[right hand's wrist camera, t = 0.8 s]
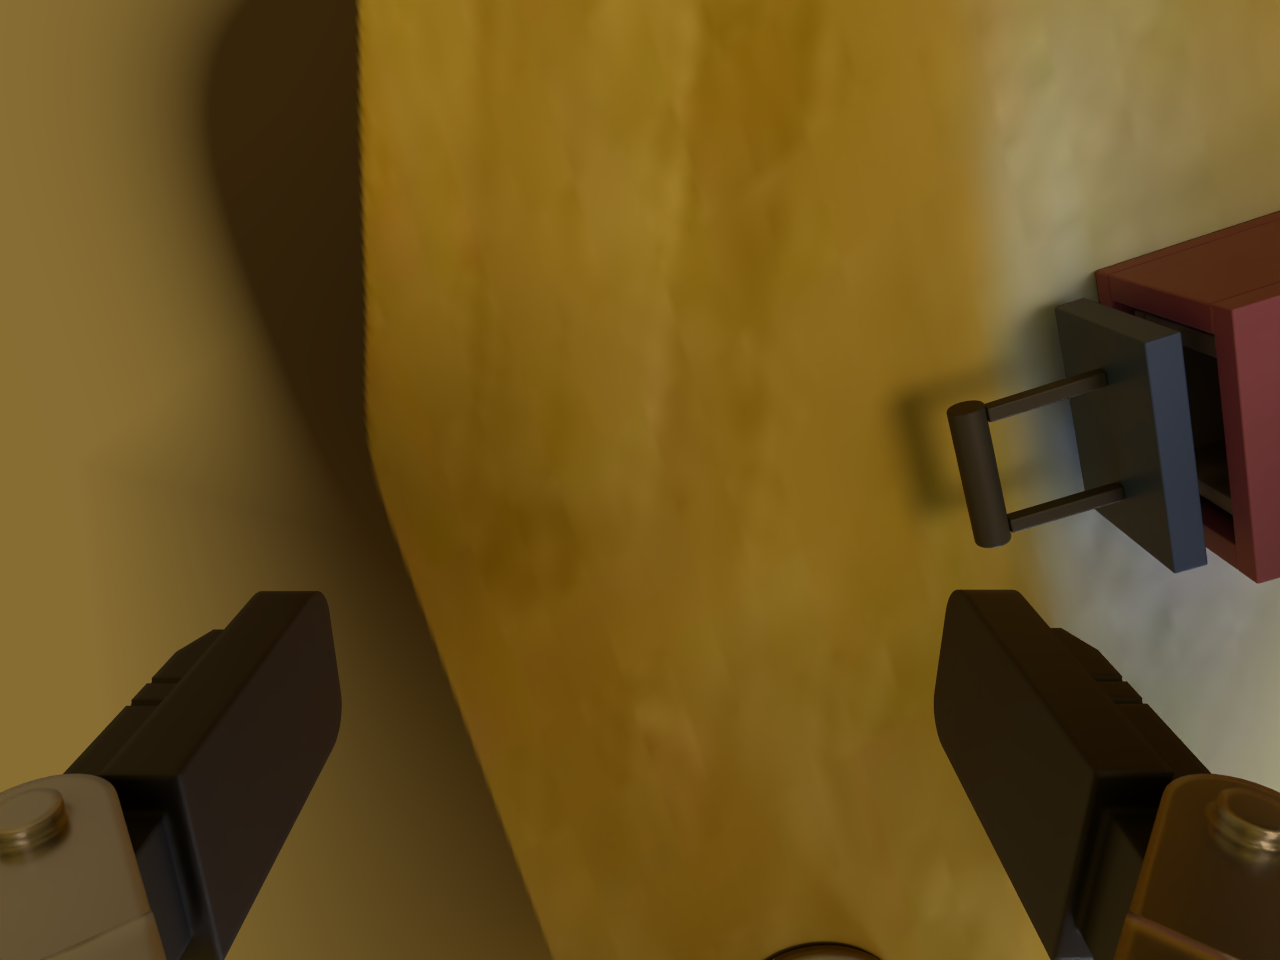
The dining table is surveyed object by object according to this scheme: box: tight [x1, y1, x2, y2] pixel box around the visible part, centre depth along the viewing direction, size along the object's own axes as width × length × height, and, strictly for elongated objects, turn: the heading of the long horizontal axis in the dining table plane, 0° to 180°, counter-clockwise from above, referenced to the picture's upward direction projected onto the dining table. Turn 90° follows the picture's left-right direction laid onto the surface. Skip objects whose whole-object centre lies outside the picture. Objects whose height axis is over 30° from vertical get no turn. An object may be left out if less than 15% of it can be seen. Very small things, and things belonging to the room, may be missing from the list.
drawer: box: [947, 298, 1233, 573], centre depth 33 cm, size 20×9×7 cm, turn 109°
